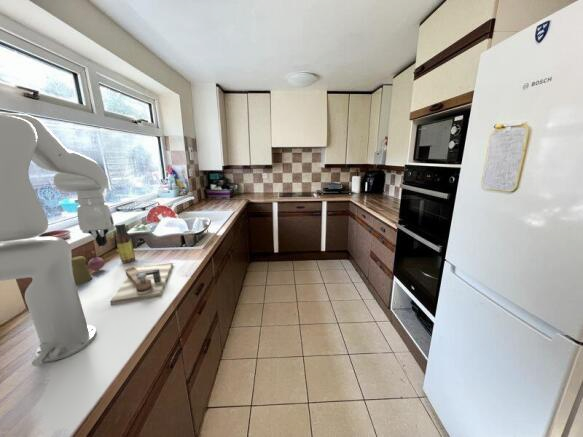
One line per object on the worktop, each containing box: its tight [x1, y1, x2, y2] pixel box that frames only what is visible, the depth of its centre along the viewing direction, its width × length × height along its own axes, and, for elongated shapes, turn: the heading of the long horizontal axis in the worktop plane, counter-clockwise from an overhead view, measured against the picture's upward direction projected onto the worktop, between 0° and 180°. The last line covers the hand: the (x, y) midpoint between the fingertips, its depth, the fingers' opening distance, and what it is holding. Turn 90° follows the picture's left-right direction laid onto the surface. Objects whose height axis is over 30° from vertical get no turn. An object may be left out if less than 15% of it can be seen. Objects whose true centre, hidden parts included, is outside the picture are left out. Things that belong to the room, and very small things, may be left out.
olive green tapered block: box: [72, 255, 93, 285], centre depth 100 cm, size 6×6×11 cm
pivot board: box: [109, 262, 174, 306], centre depth 99 cm, size 28×16×6 cm, turn 18°
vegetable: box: [87, 250, 105, 272], centre depth 109 cm, size 6×6×10 cm
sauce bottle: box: [114, 222, 136, 264], centre depth 118 cm, size 7×6×20 cm
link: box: [124, 266, 152, 292], centre depth 95 cm, size 22×5×6 cm, turn 48°
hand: (102, 244), depth 97 cm, fingers closed
